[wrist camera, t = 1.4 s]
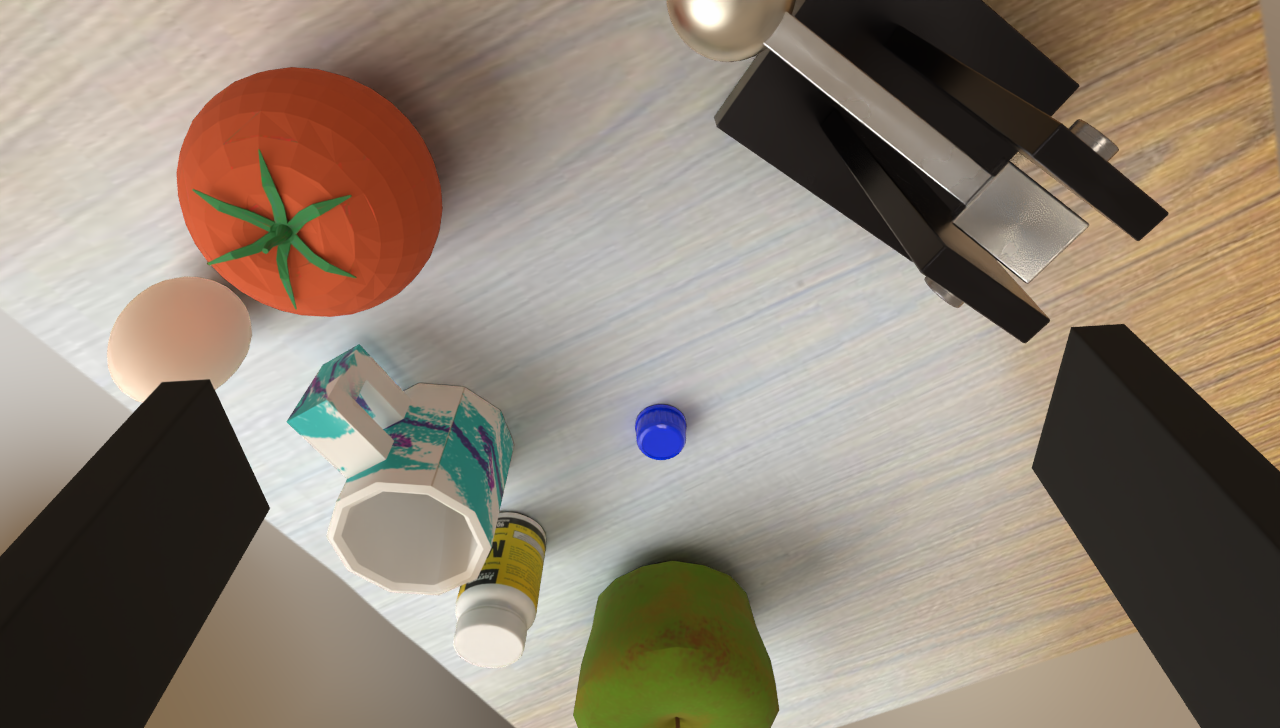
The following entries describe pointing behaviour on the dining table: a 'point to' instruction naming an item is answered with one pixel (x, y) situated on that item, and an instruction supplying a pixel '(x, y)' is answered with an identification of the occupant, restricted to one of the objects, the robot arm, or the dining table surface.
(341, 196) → the tomato
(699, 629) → the apple
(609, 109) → the dining table surface
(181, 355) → the egg
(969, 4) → the tap bracket
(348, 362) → the mug
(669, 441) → the bottle cap
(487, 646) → the supplement bottle
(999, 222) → the lever
